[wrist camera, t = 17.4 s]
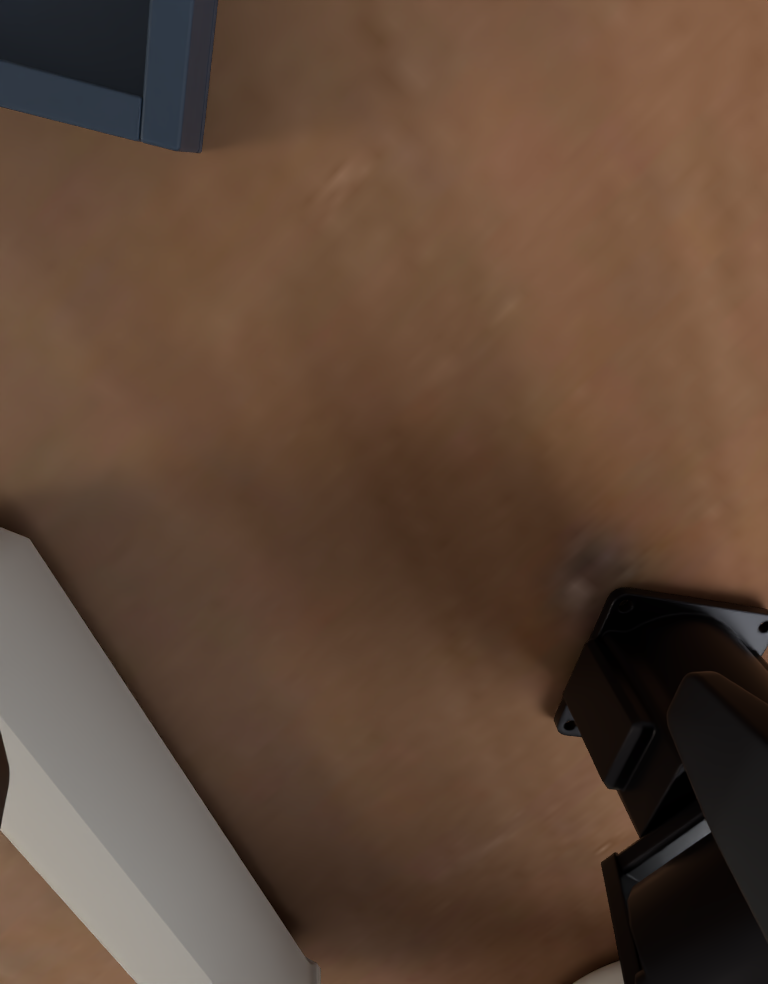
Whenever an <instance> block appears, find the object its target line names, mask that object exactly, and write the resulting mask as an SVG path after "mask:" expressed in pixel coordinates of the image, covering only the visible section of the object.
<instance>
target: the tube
mask: <svg viewBox="0 0 768 984" xmlns="http://www.w3.org/2000/svg"><path fill="white" fill-rule="evenodd" d="M0 731H1V735H2V739H3V743H4V747H5V751H6V755H7V759H8V763H9V768H10V780H9V788H8V793H7V798H6V803H5V808H4V813H3V818H2V823H1V828H0V830H1V831H2V833H3V834H4V835H5V836H6V837H7V838H8V839H9V840H10V842H11V843H12V844H13V845H14V846H15V847H16V848H17V849H18V851H19V852H20V853H21V854H22V855H23V856H24V857H25V858H26V859H27V861H28V862H29V863H30V864H31V865H32V866H33V867H34V868H35V870H36V871H37V872H38V873H39V874H40V875H41V876H42V877H43V879H44V880H45V881H46V882H47V883H48V884H49V885H50V886H51V888H52V889H53V890H54V891H55V892H56V893H57V894H58V895H59V897H60V898H61V899H62V900H63V901H64V902H65V903H66V904H67V905H68V907H69V908H70V909H71V910H72V911H73V912H74V913H75V914H76V916H77V917H78V918H79V919H80V920H81V921H82V922H83V923H84V925H85V926H86V927H87V928H88V929H89V930H90V931H91V932H92V934H93V935H94V936H95V937H96V938H97V939H98V940H99V941H100V943H101V944H102V945H103V946H104V947H105V948H106V949H107V950H108V951H109V953H110V954H111V955H112V956H113V957H114V958H115V959H116V960H117V962H118V963H119V964H120V965H121V966H122V967H123V968H124V969H125V971H126V972H127V973H128V974H129V975H130V976H131V977H132V978H133V980H134V981H135V982H136V983H137V984H321V968H320V967H319V966H318V964H317V963H316V962H314V961H312V960H310V959H308V958H307V957H305V956H304V954H303V953H302V951H301V950H300V948H299V947H298V945H297V944H296V942H295V941H294V939H293V938H292V936H291V935H290V933H289V932H288V930H287V929H286V927H285V926H284V924H283V923H282V921H281V920H280V918H279V917H278V915H277V913H276V912H275V910H274V909H273V907H272V906H271V904H270V903H269V901H268V900H267V898H266V897H265V895H264V894H263V892H262V891H261V889H260V888H259V886H258V885H257V883H256V882H255V880H254V879H253V877H252V876H251V874H250V873H249V871H248V870H247V868H246V866H245V865H244V863H243V862H242V860H241V859H240V857H239V856H238V854H237V853H236V851H235V850H234V848H233V847H232V845H231V844H230V842H229V841H228V839H227V838H226V836H225V835H224V833H223V832H222V830H221V829H220V827H219V826H218V824H217V822H216V821H215V819H214V818H213V816H212V815H211V813H210V812H209V810H208V809H207V807H206V806H205V804H204V803H203V801H202V800H201V798H200V797H199V795H198V794H197V792H196V791H195V789H194V788H193V786H192V785H191V783H190V782H189V780H188V779H187V777H186V775H185V774H184V772H183V771H182V769H181V768H180V766H179V765H178V763H177V762H176V760H175V759H174V757H173V756H172V754H171V753H170V751H169V750H168V748H167V747H166V745H165V744H164V742H163V741H162V739H161V738H160V736H159V735H158V733H157V732H156V730H155V728H154V727H153V725H152V724H151V722H150V721H149V719H148V718H147V716H146V715H145V713H144V712H143V710H142V709H141V707H140V706H139V704H138V703H137V701H136V700H135V698H134V697H133V695H132V694H131V692H130V691H129V689H128V688H127V686H126V684H125V683H124V681H123V680H122V678H121V677H120V675H119V674H118V672H117V671H116V669H115V668H114V666H113V665H112V663H111V662H110V660H109V659H108V657H107V656H106V654H105V653H104V651H103V650H102V648H101V647H100V645H99V644H98V642H97V641H96V639H95V637H94V636H93V634H92V633H91V631H90V630H89V628H88V627H87V625H86V624H85V622H84V621H83V619H82V618H81V616H80V615H79V613H78V612H77V610H76V609H75V607H74V606H73V604H72V603H71V601H70V600H69V598H68V597H67V595H66V594H65V592H64V590H63V589H62V587H61V586H60V584H59V583H58V581H57V580H56V578H55V577H54V575H53V574H52V572H51V571H50V569H49V568H48V566H47V565H46V563H45V562H44V560H43V559H42V557H41V556H40V554H39V553H38V551H37V550H36V548H35V547H34V545H33V543H32V542H31V540H30V539H29V538H26V537H24V536H21V535H19V534H16V533H14V532H11V531H9V530H6V529H4V528H1V527H0Z"/></svg>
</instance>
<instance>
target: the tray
mask: <svg viewBox="0 0 768 984" xmlns="http://www.w3.org/2000/svg"><path fill="white" fill-rule="evenodd" d="M217 5H218V0H0V107H4V108H8V109H12V110H16V111H20V112H23V113H27V114H31V115H35V116H39V117H43V118H47V119H51V120H55V121H59V122H63V123H67V124H71V125H75V126H79V127H83V128H87V129H91V130H95V131H98V132H102V133H106V134H110V135H114V136H118V137H122V138H126V139H130V140H134V141H140V142H143V143H146V144H150V145H154V146H158V147H162V148H166V149H170V150H174V151H181V152H193V153H201V152H202V145H203V136H204V126H205V117H206V108H207V98H208V89H209V80H210V70H211V61H212V52H213V42H214V33H215V24H216V15H217Z"/></svg>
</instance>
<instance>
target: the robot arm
mask: <svg viewBox="0 0 768 984" xmlns="http://www.w3.org/2000/svg"><path fill="white" fill-rule="evenodd" d="M624 600H628V601H627V602H626V603H625V604H623V605H620V603H621V602H623V601H624ZM763 622H764V623H763ZM761 623H763V624H761ZM767 646H768V610H767V609H763V608H756V607H750V606H744V605H737V604H731V603H724V602H718V601H711V600H705V599H698V598H692V597H685V596H679V595H673V594H666V593H660V592H653V591H647V590H640V589H634V588H627V587H621V588H618V589H616V590H614V591H613V592H612V593H611V594H610V595H609V597H608V598H607V601H606V603H605V605H604V607H603V610H602V612H601V614H600V616H599V618H598V621H597V623H596V625H595V627H594V630H593V632H592V634H591V636H590V638H589V641H588V642H587V643H586V644H585V645H584V648H583V650H582V652H581V654H580V657H579V659H578V661H577V663H576V666H575V668H574V670H573V672H572V674H571V677H570V679H569V681H568V683H567V686H566V688H565V690H564V692H563V699H562V701H561V703H560V705H559V707H558V710H557V712H556V714H555V717H554V722H555V725H556V727H557V729H558V732H560V733H561V734H563V735H567V736H577V737H582V738H583V741H584V743H585V745H586V747H587V749H588V751H589V753H590V756H591V758H592V760H593V762H594V764H595V766H596V768H597V771H598V773H599V775H600V777H601V779H602V781H603V782H604V784H605V785H606V787H607V788H608V789H614V790H617V792H618V794H619V796H620V798H621V800H622V802H623V804H624V806H625V809H626V811H627V813H628V815H629V817H630V819H631V821H632V823H633V825H634V827H635V829H636V831H637V833H638V835H639V838H640V839H639V840H637V841H636V842H635V843H633V844H632V845H630V846H629V847H628V848H626V849H625V850H623V851H622V852H621V853H619V854H618V853H616V852H615V853H613V854H612V855H611V856H609V857H608V858H606V859H605V860H604V861H602V862H601V866H602V871H603V877H604V882H605V887H606V892H607V897H608V903H609V908H610V913H611V918H612V923H613V929H614V934H615V939H616V944H617V949H618V955H619V960H620V965H621V970H622V975H623V981H624V984H768V664H767V662H766V661H765V660H764V659H763V658H762V657H761V656H762V654H763V653H764V651H765V649H766V648H767ZM568 721H570V722H568ZM9 780H10V768H9V763H8V759H7V755H6V751H5V747H4V743H3V739H2V735H1V731H0V828H1V823H2V818H3V813H4V808H5V803H6V798H7V793H8V788H9Z"/></svg>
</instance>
